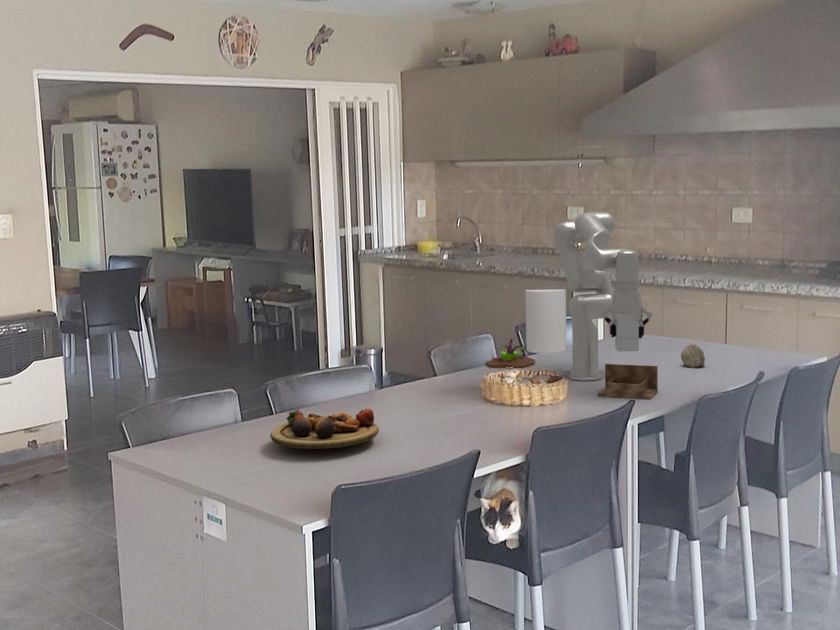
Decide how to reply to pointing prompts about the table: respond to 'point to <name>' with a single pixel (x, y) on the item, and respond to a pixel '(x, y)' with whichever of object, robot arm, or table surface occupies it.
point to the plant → (510, 359)
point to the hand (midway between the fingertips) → (626, 337)
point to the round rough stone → (692, 356)
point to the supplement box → (626, 333)
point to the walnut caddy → (630, 381)
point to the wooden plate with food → (325, 430)
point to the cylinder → (545, 321)
